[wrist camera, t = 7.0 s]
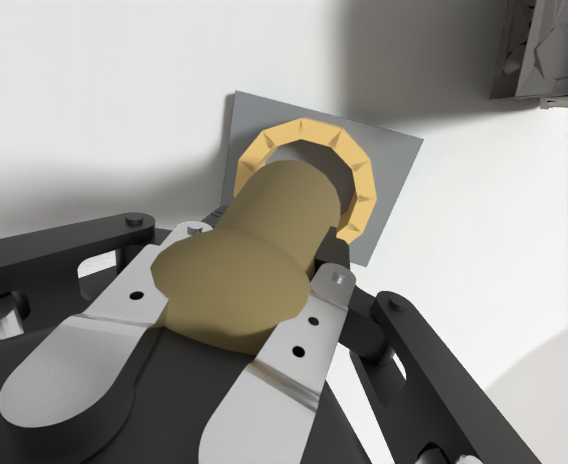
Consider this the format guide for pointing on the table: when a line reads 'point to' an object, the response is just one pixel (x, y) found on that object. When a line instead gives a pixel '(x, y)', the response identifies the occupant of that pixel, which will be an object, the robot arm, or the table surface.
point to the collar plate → (324, 161)
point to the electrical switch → (534, 53)
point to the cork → (250, 259)
